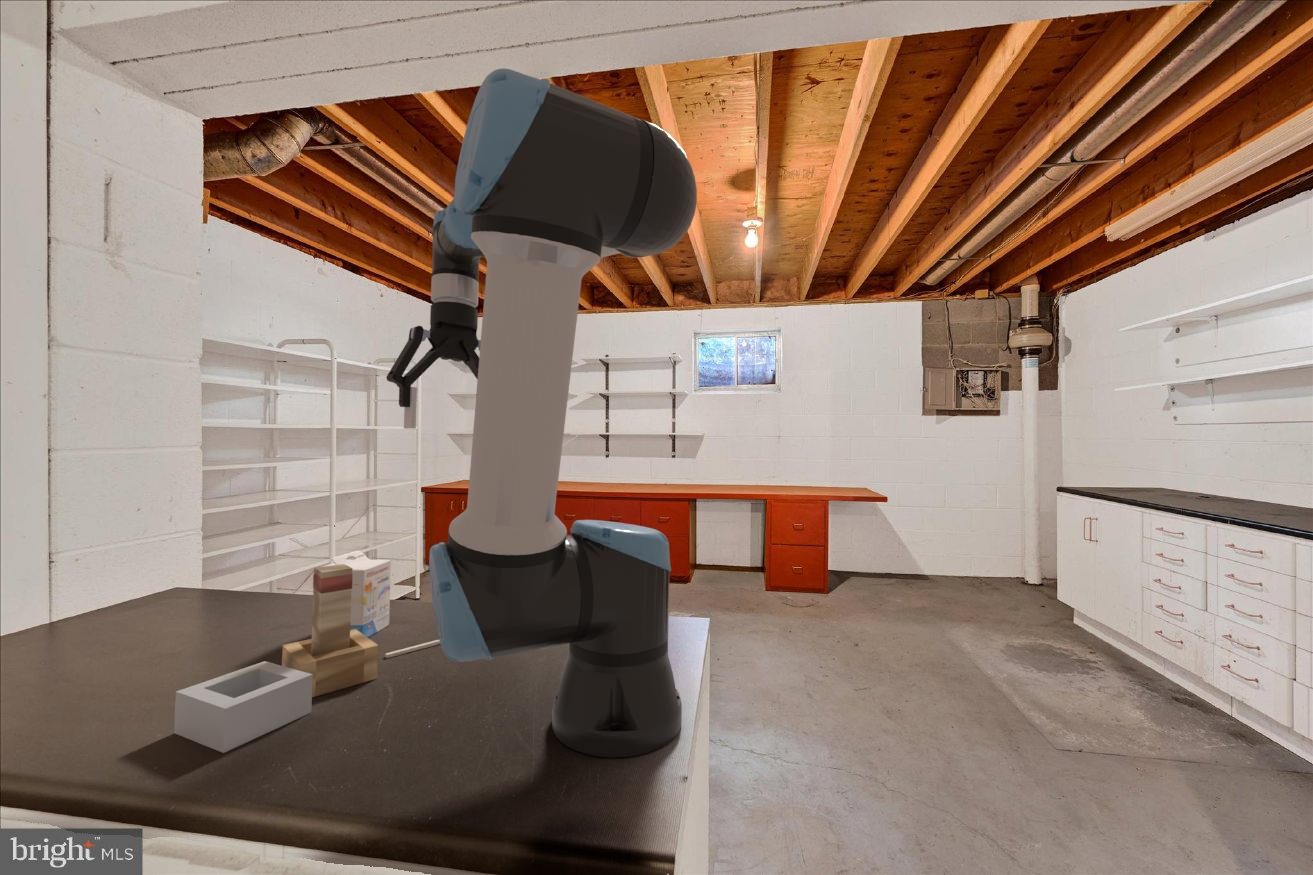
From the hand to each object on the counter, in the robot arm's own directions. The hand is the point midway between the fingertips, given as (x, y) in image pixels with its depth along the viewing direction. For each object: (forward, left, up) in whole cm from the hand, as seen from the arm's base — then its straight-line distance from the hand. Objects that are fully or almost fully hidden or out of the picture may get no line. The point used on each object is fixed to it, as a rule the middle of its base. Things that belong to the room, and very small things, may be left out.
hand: (451, 430), depth 87 cm
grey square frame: (-10, +28, -35) cm, 46 cm away
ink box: (+13, +10, -35) cm, 39 cm away
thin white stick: (-2, +5, -35) cm, 35 cm away
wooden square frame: (-4, +18, -35) cm, 39 cm away
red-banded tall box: (-4, +18, -35) cm, 39 cm away
